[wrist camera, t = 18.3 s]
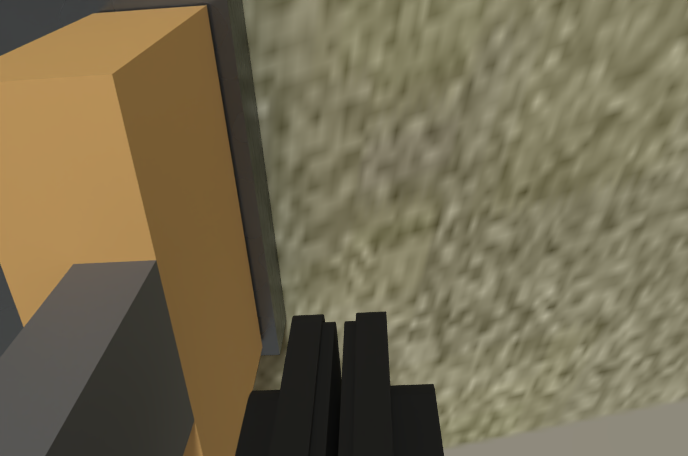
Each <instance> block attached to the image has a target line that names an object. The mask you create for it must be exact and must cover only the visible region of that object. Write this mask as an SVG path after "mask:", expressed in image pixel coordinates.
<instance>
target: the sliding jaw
mask: <svg viewBox="0 0 688 456" xmlns="http://www.w3.org/2000/svg"><path fill="white" fill-rule="evenodd" d="M0 264H1V267H2V270H3V272H4V275H5V278H6V280H7V283H8V286H9V289H10V291H11V294H12V297H13V300H14V302H15V305H16V308H17V310H18V313H19V316H20V319H21V321H22V324H23V327H24V328H23V329H22V330H21V332H20V333H19V334H18V335H17V337H16V338H15V339H14V340H13V342H12V343H11V344H10V346H9V347H8V348H7V349H6V351H5V352H4V353H3V355H2V356H1V357H0V456H235V453H236V448H237V444H238V440H239V435H240V431H241V427H242V422H243V418H244V414H245V409H246V405H247V401H248V397H249V394H250V393H251V392H252V390H253V386H254V382H255V377H256V373H257V369H258V364H259V360H260V356H261V351H262V342H261V335H260V329H259V323H258V317H257V311H256V305H255V299H254V292H253V286H252V280H251V274H250V268H249V262H248V256H247V250H246V243H245V237H244V231H243V225H242V219H241V213H240V207H239V201H238V194H237V188H236V182H235V176H234V170H233V164H232V158H231V152H230V145H229V139H228V133H227V127H226V121H225V115H224V109H223V103H222V96H221V90H220V84H219V78H218V72H217V66H216V60H215V53H214V47H213V41H212V35H211V29H210V23H209V17H208V11H207V5H202V6H189V7H175V8H161V9H147V10H133V11H120V12H106V13H93V14H91V15H89V16H87V17H84V18H82V19H80V20H78V21H76V22H73V23H71V24H69V25H67V26H65V27H63V28H60V29H58V30H56V31H54V32H52V33H49V34H47V35H45V36H43V37H41V38H38V39H36V40H34V41H32V42H30V43H28V44H25V45H23V46H21V47H19V48H17V49H14V50H12V51H10V52H8V53H6V54H4V55H1V56H0Z"/></svg>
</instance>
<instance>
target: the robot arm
mask: <svg viewBox="0 0 688 456" xmlns="http://www.w3.org/2000/svg"><path fill="white" fill-rule="evenodd" d="M235 456H444V452H443V445H442V438H441V431H440V423H439V416H438V409H437V402H436V395H435V388H434V384H422V385H396V386H390V373H389V355H388V336H387V318H386V312H366V313H356V321H346V322H345V324H344V344H343V365H342V378H341V368H340V358H339V348H338V337H337V328H336V322H325V318H324V315H323V314H321V315H299V316H293V318H292V323H291V329H290V335H289V341H288V347H287V352H286V358H285V364H284V370H283V376H282V382H281V388H280V390H264V391H252V392H251V393H250V394H249V397H248V401H247V405H246V409H245V414H244V418H243V422H242V427H241V431H240V435H239V440H238V444H237V448H236V453H235Z"/></svg>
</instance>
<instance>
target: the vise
mask: <svg viewBox="0 0 688 456" xmlns="http://www.w3.org/2000/svg"><path fill="white" fill-rule="evenodd" d="M202 5H207V11H208V17H209V23H210V29H211V35H212V41H213V47H214V53H215V60H216V66H217V72H218V78H219V84H220V90H221V96H222V103H223V109H224V115H225V121H226V127H227V133H228V139H229V145H230V152H231V158H232V164H233V170H234V176H235V182H236V188H237V194H238V201H239V207H240V213H241V219H242V225H243V231H244V237H245V243H246V250H247V256H248V262H249V268H250V274H251V280H252V286H253V292H254V299H255V305H256V311H257V317H258V323H259V329H260V335H261V342H262V351H261V355H280V350H281V345H282V340H283V334H284V329H285V324H286V315H285V308H284V301H283V294H282V286H281V279H280V272H279V265H278V258H277V250H276V243H275V236H274V229H273V222H272V214H271V207H270V200H269V193H268V186H267V178H266V171H265V164H264V157H263V150H262V142H261V135H260V128H259V121H258V114H257V106H256V99H255V92H254V85H253V78H252V70H251V63H250V56H249V49H248V42H247V34H246V27H245V20H244V13H243V6H242V0H0V56H1V55H4V54H6V53H8V52H10V51H12V50H14V49H17V48H19V47H21V46H23V45H25V44H28V43H30V42H32V41H34V40H36V39H38V38H41V37H43V36H45V35H47V34H49V33H52V32H54V31H56V30H58V29H60V28H63V27H65V26H67V25H69V24H71V23H73V22H76V21H78V20H80V19H82V18H84V17H87V16H89V15H91V14H93V13H106V12H120V11H133V10H147V9H161V8H175V7H189V6H202ZM23 328H24V327H23V324H22V321H21V319H20V316H19V313H18V310H17V308H16V305H15V302H14V300H13V297H12V294H11V291H10V289H9V286H8V283H7V280H6V278H5V275H4V272H3V270H2V267H1V264H0V357H1V356H2V355H3V353H4V352H5V351H6V349H7V348H8V347H9V346H10V344H11V343H12V342H13V340H14V339H15V338H16V337H17V335H18V334H19V333H20V332H21V330H22V329H23Z"/></svg>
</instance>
